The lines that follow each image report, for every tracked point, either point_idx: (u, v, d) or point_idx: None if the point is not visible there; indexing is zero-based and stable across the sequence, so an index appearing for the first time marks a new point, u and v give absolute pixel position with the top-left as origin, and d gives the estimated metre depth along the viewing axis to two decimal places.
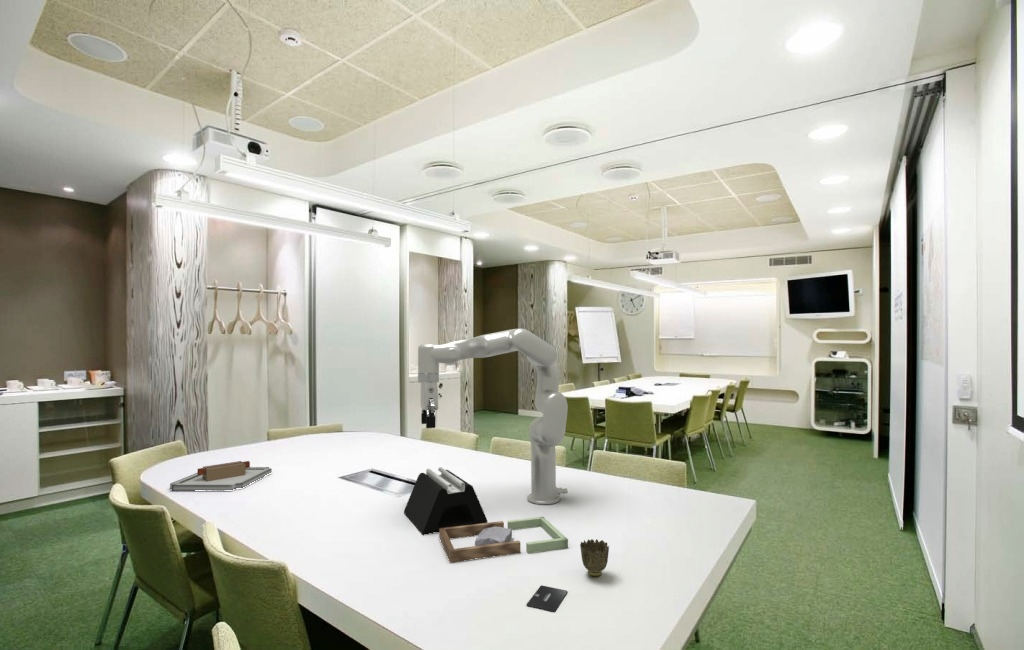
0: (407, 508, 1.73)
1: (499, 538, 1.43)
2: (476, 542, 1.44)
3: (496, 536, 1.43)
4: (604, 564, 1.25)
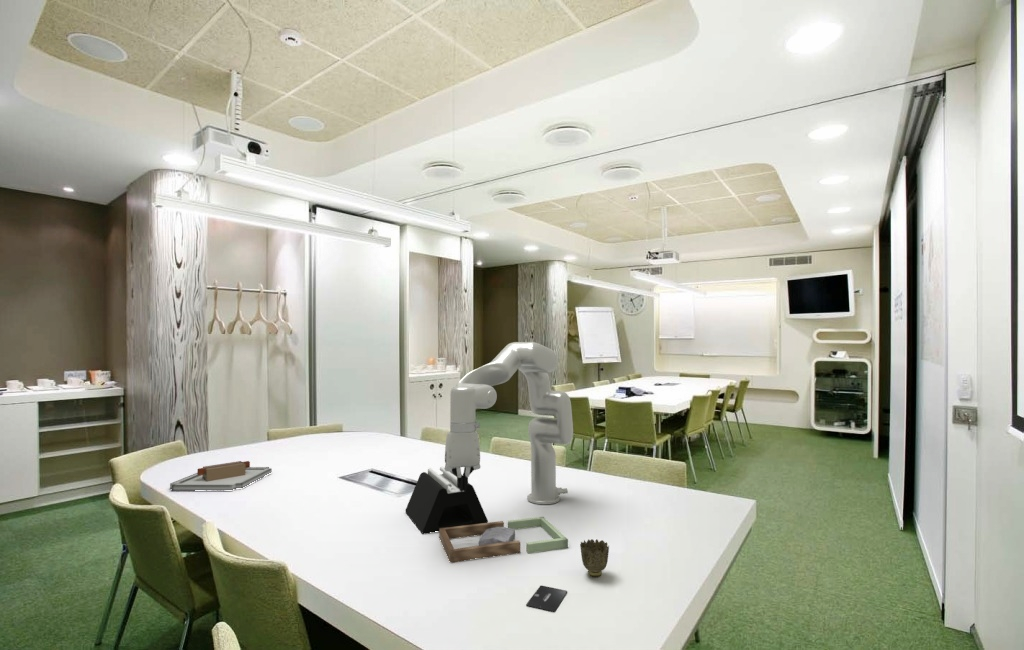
0: (408, 507, 1.74)
1: (503, 538, 1.42)
2: (480, 542, 1.43)
3: (500, 536, 1.43)
4: (604, 564, 1.25)
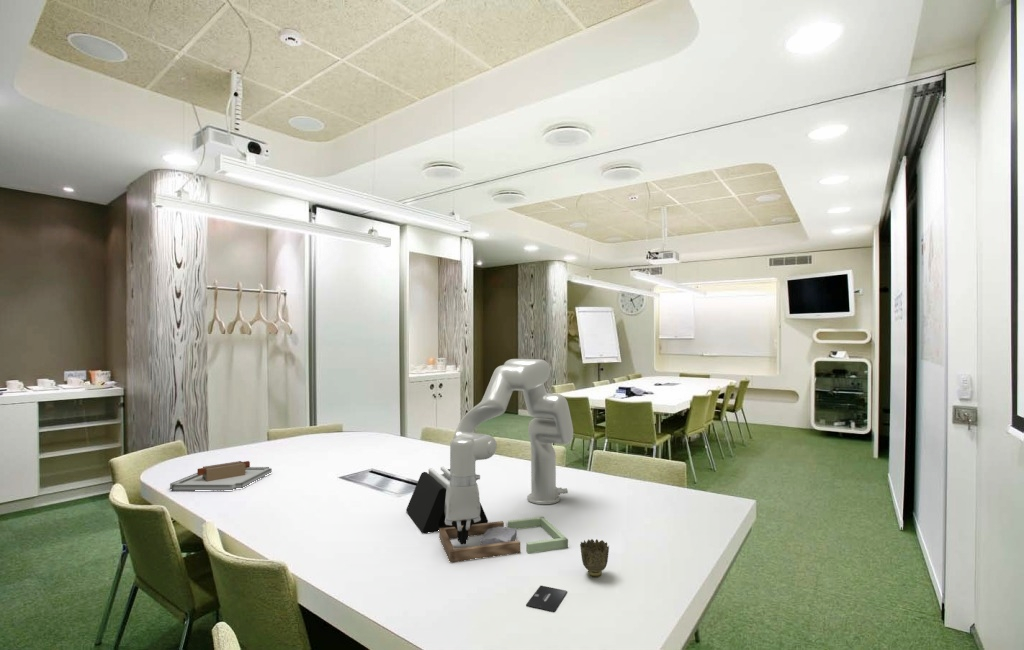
0: (409, 507, 1.74)
1: (504, 538, 1.43)
2: (482, 542, 1.44)
3: (501, 536, 1.43)
4: (604, 564, 1.25)
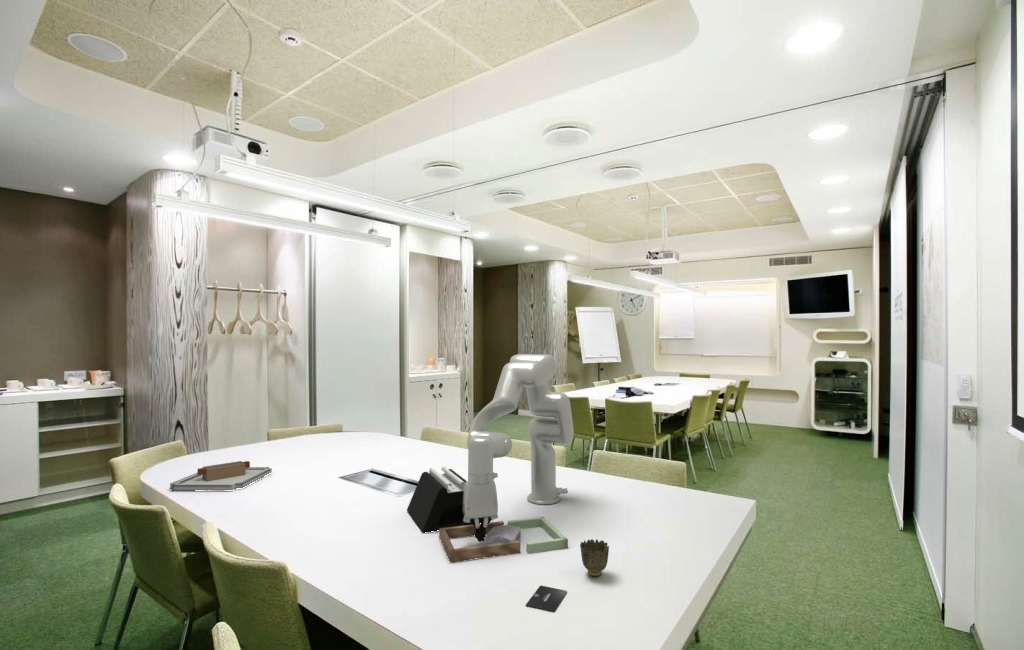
0: (410, 506, 1.74)
1: (509, 536, 1.43)
2: (486, 540, 1.44)
3: (506, 534, 1.44)
4: (604, 564, 1.25)
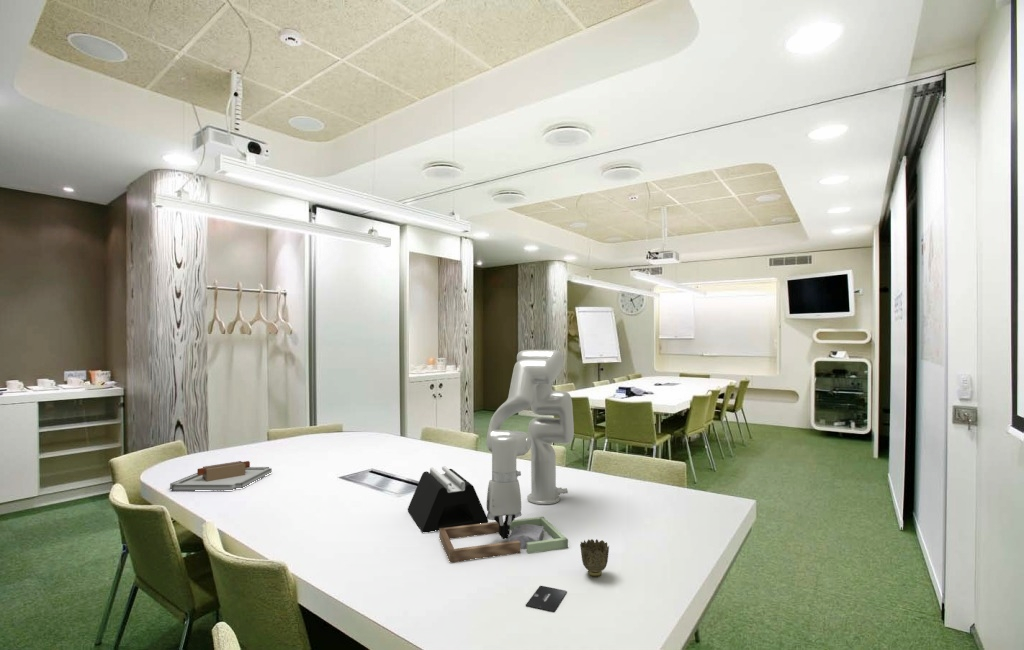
0: (410, 506, 1.75)
1: (533, 535, 1.44)
2: (511, 539, 1.45)
3: (530, 533, 1.45)
4: (604, 564, 1.25)
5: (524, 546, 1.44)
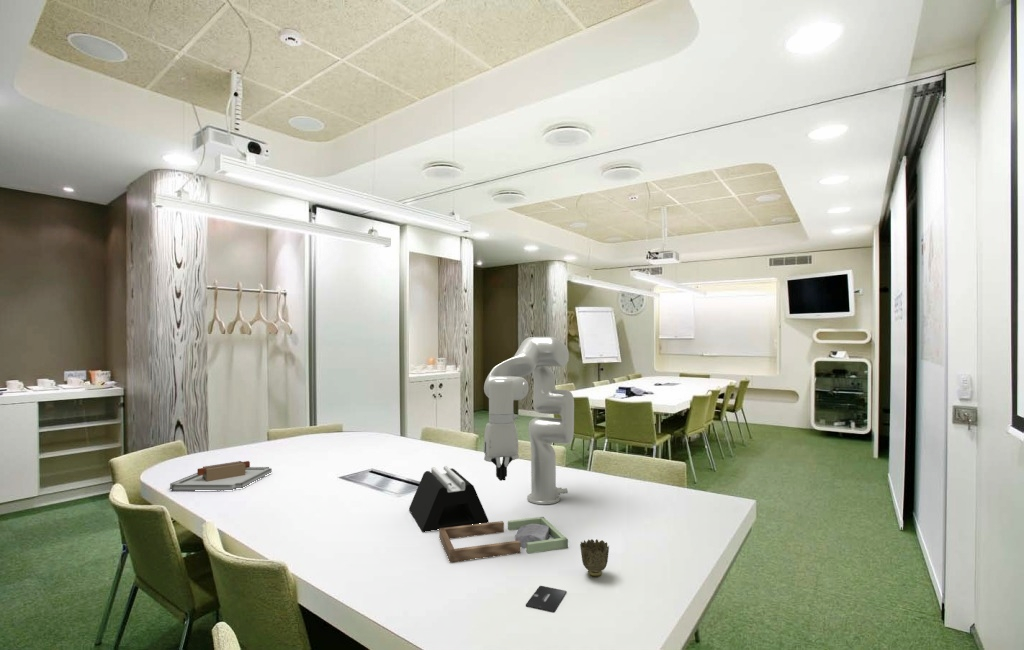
0: (412, 505, 1.76)
1: (539, 534, 1.45)
2: (517, 539, 1.46)
3: (536, 533, 1.45)
4: (604, 564, 1.25)
5: None
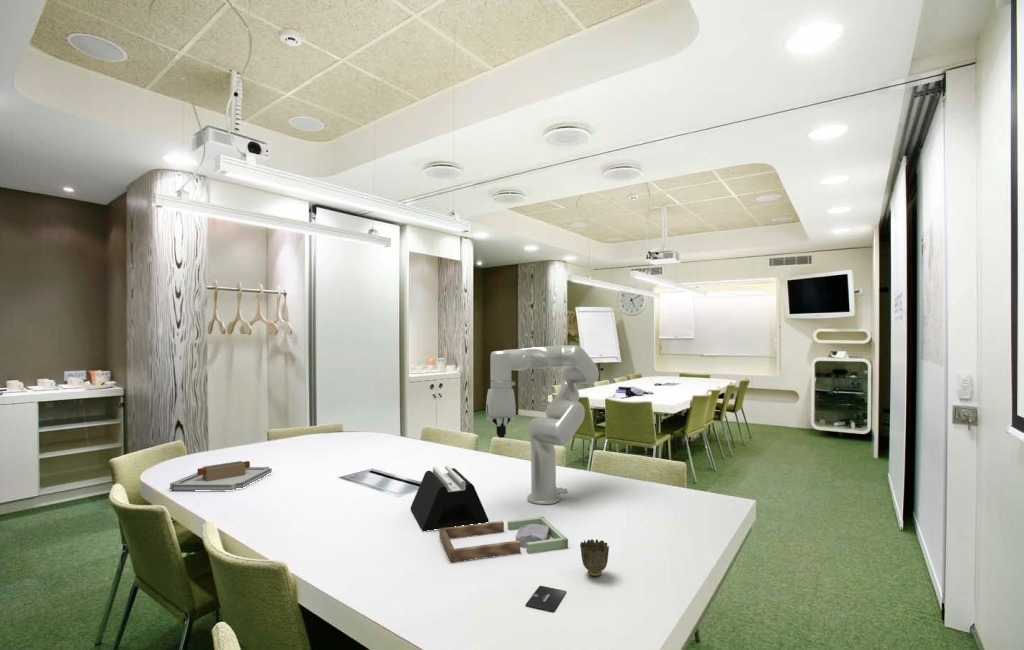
0: (413, 505, 1.76)
1: (540, 535, 1.45)
2: (518, 539, 1.46)
3: (537, 533, 1.45)
4: (604, 564, 1.25)
5: None
